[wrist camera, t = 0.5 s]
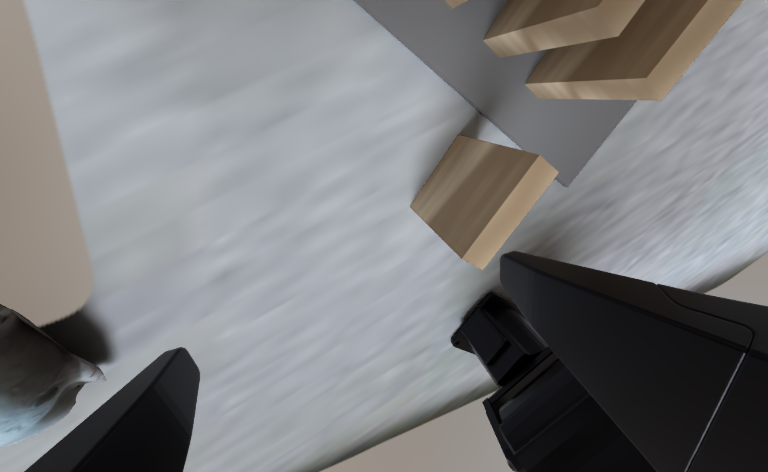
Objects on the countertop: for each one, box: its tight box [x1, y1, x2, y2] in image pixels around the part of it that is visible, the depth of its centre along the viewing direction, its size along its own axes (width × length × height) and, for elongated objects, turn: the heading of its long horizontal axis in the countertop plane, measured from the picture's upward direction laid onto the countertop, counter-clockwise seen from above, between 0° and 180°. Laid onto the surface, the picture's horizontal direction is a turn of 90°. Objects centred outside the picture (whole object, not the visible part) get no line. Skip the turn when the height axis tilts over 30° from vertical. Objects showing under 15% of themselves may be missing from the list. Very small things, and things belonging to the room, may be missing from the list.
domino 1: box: [410, 135, 559, 270], centre depth 18 cm, size 2×6×8 cm, turn 146°
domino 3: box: [525, 0, 743, 100], centre depth 16 cm, size 2×6×8 cm, turn 146°
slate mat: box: [354, 0, 637, 187], centre depth 18 cm, size 25×12×1 cm, turn 56°
